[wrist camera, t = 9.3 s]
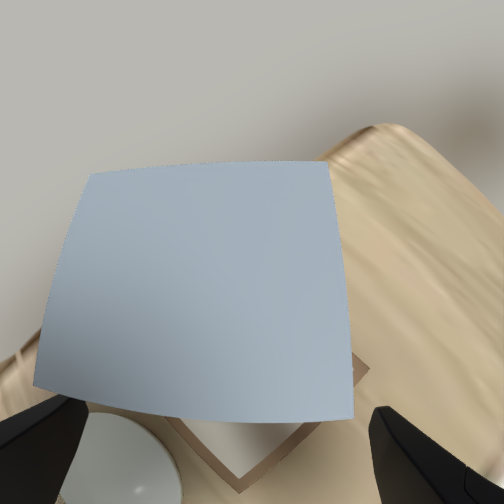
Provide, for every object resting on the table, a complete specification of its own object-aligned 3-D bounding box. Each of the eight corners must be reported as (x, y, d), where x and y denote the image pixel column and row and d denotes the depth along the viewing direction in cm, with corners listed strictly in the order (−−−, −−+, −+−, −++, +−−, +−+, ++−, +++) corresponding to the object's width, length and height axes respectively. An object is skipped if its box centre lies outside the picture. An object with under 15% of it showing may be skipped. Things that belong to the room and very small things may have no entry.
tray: (242, 486, 14) (238, 494, 12) (134, 367, 18) (121, 362, 16) (361, 372, 17) (371, 367, 15) (247, 269, 21) (245, 255, 19)
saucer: (123, 551, 11) (113, 558, 10) (45, 451, 14) (31, 452, 13) (217, 494, 14) (212, 501, 12) (123, 387, 17) (111, 384, 16)
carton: (291, 412, 14) (357, 421, 3) (194, 409, 15) (30, 387, 4) (291, 330, 17) (329, 159, 6) (199, 328, 17) (89, 172, 6)
